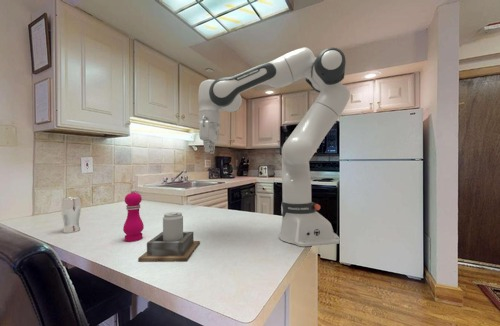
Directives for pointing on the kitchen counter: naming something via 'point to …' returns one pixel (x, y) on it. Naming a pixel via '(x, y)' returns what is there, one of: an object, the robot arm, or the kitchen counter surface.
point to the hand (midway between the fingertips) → (209, 153)
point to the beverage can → (172, 226)
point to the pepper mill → (133, 217)
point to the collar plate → (169, 249)
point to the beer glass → (71, 214)
